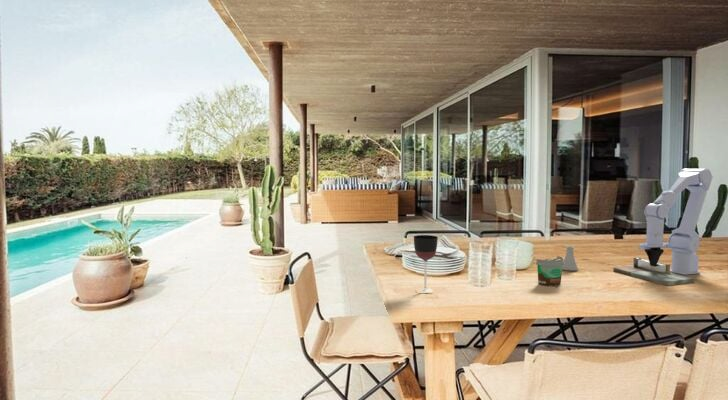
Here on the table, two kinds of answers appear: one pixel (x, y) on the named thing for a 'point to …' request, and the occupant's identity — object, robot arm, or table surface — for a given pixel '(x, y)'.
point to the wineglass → (425, 251)
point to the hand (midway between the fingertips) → (653, 266)
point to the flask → (570, 260)
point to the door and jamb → (655, 275)
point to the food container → (550, 271)
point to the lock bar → (648, 265)
